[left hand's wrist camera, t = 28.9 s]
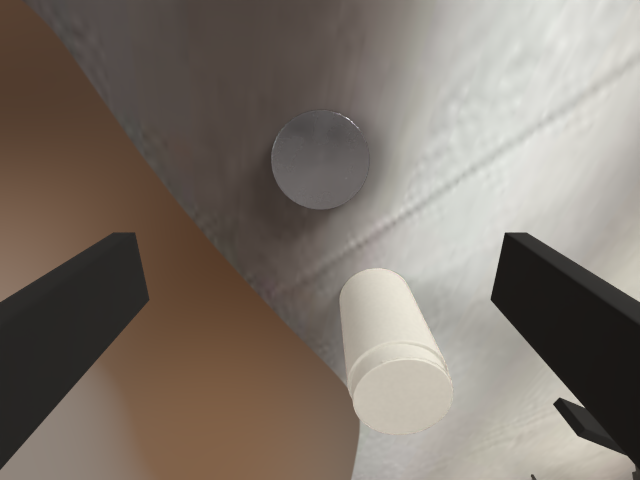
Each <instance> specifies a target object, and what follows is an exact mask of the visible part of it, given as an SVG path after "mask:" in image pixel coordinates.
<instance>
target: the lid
mask: <svg viewBox="0 0 640 480" xmlns="http://www.w3.org/2000/svg"><path fill="white" fill-rule="evenodd" d="M369 161H370V159H369V150H368V146H367V143H366V140H365V138H364V136H363V134H362V133H361V131H360V130H359V128H358V127H357V126H356V125H355V124H354V123H353V122H352V121H351V120H349V119H348V118H346V117H345V116H343V115H341V114H339V113H336V112H333V111H328V110H312V111H308V112H305V113H302V114H300V115H298V116H296V117H295V118H293V119H292V120H290V121H289V122H288V123H287V124H286V125H285V126H284V127H283V128H282V130H281V131H280V132H279V134H278V136H277V138H276V140H275V143H274V145H273V150H272V157H271V162H272V170H273V174H274V177H275V180H276V182H277V184H278V186H279V187H280V189H281V190H282V191H283V193H284V194H285V195H286V196H287V197H288V198H290V199H291V200H292V201H294V202H295V203H297V204H299V205H301V206H303V207H306V208H310V209H317V210H324V209H331V208H335V207H337V206H340V205H342V204H344V203H346V202H347V201H349V200H350V199H351V198H352V197H354V196H355V195H356V194H357V192H358V191H359V190H360V189H361V187H362V185H363V184H364V182H365V180H366V177H367V174H368V170H369Z"/></svg>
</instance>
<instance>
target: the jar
mask: <svg viewBox="0 0 640 480" xmlns="http://www.w3.org/2000/svg"><path fill="white" fill-rule="evenodd" d="M339 303H340V313H341V323H342V334H343V344H344V354H345V364H346V374H347V384H348V390H349V393H350V396H351V398H352V399H353V406H354V409H355V412H356V414H357V416H358V417H359V418H360V420H361V421H362V422H363V423H364V424H366V425H367V426H368V427H370V428H372V429H374V430H376V431H378V432H381V433H385V434H391V435H406V434H412V433H416V432H420V431H423V430H425V429H427V428H429V427H431V426H433V425H434V424H436V423H437V422H438V421H440V420H441V419H442V418H443V417H444V416H445V414H446V413H447V412H448V410H449V408H450V406H451V403H452V400H453V384H452V381H451V377H450V376H449V372H448V367H447V365H446V362H445V360H444V358H443V356H442V354H441V352H440V350H439V348H438V346H437V344H436V342H435V340H434V338H433V336H432V334H431V332H430V330H429V328H428V325H427V323H426V321H425V319H424V317H423V315H422V313H421V311H420V309H419V307H418V305H417V303H416V301H415V299H414V297H413V295H412V293H411V291H410V289H409V287H408V285H407V283H406V282H405V280H404V279H403V278H402V277H401V276H400V275H398V274H397V273H395V272H393V271H390V270H387V269H381V268H373V269H367V270H364V271H361V272H359V273H357V274H355V275H354V276H352V277H351V278H350V279H349V280H348V281H347V282H346V283H345V285H344V286H343V288H342V290H341V293H340V298H339Z"/></svg>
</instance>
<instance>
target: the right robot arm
mask: <svg viewBox="0 0 640 480" xmlns="http://www.w3.org/2000/svg"><path fill="white" fill-rule="evenodd" d="M553 405H554V406H555V407H556V409H557V410H558V411H559V412H560V414H561V415H562V416H563V418H564V419H565V420H566V421H567V423H568V424H569V425H570V427H571V428H572V429H573V430H574V432H575V433H576V434H577V436H579V437H582V438H584V439H587V440H589V441H592V442H594V443H597V444H599V445H602V446H604V447H607V448H609V449H612V450H614V451H617V452H619V453H622V454H624V455H626V454H625V452H624V451H623V450H622V449H621V448H620V447H619V446H618V444H617V443H616V442H615V441H614V440H613V439H612V438H611V437H610V435H609V434H608V433H607V432H606V431H605V430H604V429H603V427H602V426H601V425H600V424H599V423H598V422H597V421H596V419H595V418H594V417H593V416H592V415H591V414H590V413H589V411H588V410H587V409H586V408H583V407H581V406H579V405H576V404H574V403H572V402H569V401H567V400H564V399H562V398H559V399H558V400H557V401H556V402H555V403H554V404H553ZM635 467H636V471H635V472H632V475H633V480H640V470H639V468H638V467H637V466H636V465H635Z"/></svg>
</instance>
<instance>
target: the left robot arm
mask: <svg viewBox="0 0 640 480" xmlns="http://www.w3.org/2000/svg"><path fill="white" fill-rule="evenodd" d="M148 301H149V296H148V291H147V286H146V282H145V277H144V272H143V268H142V263H141V258H140V254H139V249H138V244H137V240H136V235H135V233H112V234H110V235H109V236H107V237H106V238H104V239H102V240H101V241H99V242H97V243H96V244H94V245H92V246H91V247H89V248H88V249H86V250H84V251H83V252H81V253H79V254H78V255H76V256H75V257H73V258H71V259H70V260H68V261H67V262H65V263H63V264H62V265H60V266H58V267H57V268H55V269H54V270H52V271H50V272H49V273H47V274H46V275H44V276H42V277H41V278H39V279H37V280H36V281H34V282H32V283H31V284H29V285H28V286H26V287H24V288H23V289H21V290H19V291H18V292H16V293H15V294H13V295H11V296H10V297H8V298H6V299H5V300H3V301H2V302H0V470H1V468H2V467H3V466H4V465H5V464H6V463H7V462H8V460H9V459H10V458H11V457H12V456H13V455H14V454H15V452H16V451H17V450H18V449H19V448H20V447H21V446H22V444H23V443H24V442H25V441H26V440H27V439H28V438H29V437H30V435H31V434H32V433H33V432H34V431H35V430H36V429H37V427H38V426H39V425H40V424H41V423H42V422H43V421H44V419H45V418H46V417H47V416H48V415H49V414H50V413H51V411H52V410H53V409H54V408H55V407H56V406H57V405H58V403H59V402H60V401H61V400H62V399H63V398H64V397H65V395H66V394H67V393H68V392H69V391H70V390H71V389H72V387H73V386H74V385H75V384H76V383H77V382H78V381H79V379H80V378H81V377H82V376H83V375H84V374H85V373H86V372H87V370H88V369H89V368H90V367H91V366H92V365H93V364H94V362H95V361H96V360H97V359H98V358H99V357H100V356H101V354H102V353H103V352H104V351H105V350H106V349H107V348H108V346H109V345H110V344H111V343H112V342H113V341H114V340H115V338H116V337H117V336H118V335H119V334H120V333H121V332H122V330H123V329H124V328H125V327H126V326H127V325H128V324H129V322H130V321H131V320H132V319H133V318H134V317H135V316H136V315H137V313H138V312H139V311H140V310H141V309H142V308H143V307H144V305H145V304H146V303H147V302H148ZM491 301H492V302H493V303H494V304H495V305H496V307H497V308H498V309H499V310H500V311H501V312H502V313H503V315H504V316H505V317H506V318H507V319H508V320H509V321H510V322H511V324H512V325H513V326H514V327H515V328H516V329H517V330H518V332H519V333H520V334H521V335H522V336H523V337H524V338H525V340H526V341H527V342H528V343H529V344H530V345H531V346H532V348H533V349H534V350H535V351H536V352H537V353H538V354H539V356H540V357H541V358H542V359H543V360H544V361H545V362H546V364H547V365H548V366H549V367H550V368H551V369H552V370H553V372H554V373H555V374H556V375H557V376H558V377H559V378H560V379H561V381H562V382H563V383H564V384H565V385H566V386H567V387H568V389H569V390H570V391H571V392H572V393H573V394H574V395H575V397H576V398H577V399H578V400H579V401H580V402H581V403H582V405H583V406H584V407H585V408H586V409H587V410H588V411H589V413H590V414H591V415H592V416H593V417H594V418H595V419H596V421H597V422H598V423H599V424H600V425H601V426H602V427H603V429H604V430H605V431H606V432H607V433H608V434H609V435H610V437H611V438H612V439H613V440H614V441H615V442H616V443H617V444H618V446H619V447H620V448H621V449H622V450H623V451H624V452H625V454H626V455H627V456H628V457H629V458H630V459H631V460H632V462H633V463H634V464H635V465H636V466H637V467H638V468H639V470H640V302H638V301H637V300H635V299H634V298H632V297H630V296H629V295H627V294H625V293H624V292H622V291H621V290H619V289H617V288H616V287H614V286H612V285H611V284H609V283H608V282H606V281H604V280H603V279H601V278H599V277H598V276H596V275H595V274H593V273H591V272H590V271H588V270H586V269H585V268H583V267H582V266H580V265H578V264H577V263H575V262H573V261H572V260H570V259H569V258H567V257H565V256H564V255H562V254H561V253H559V252H557V251H556V250H554V249H552V248H551V247H549V246H548V245H546V244H544V243H543V242H541V241H539V240H538V239H536V238H535V237H533V236H531V235H530V234H528V233H505V235H504V240H503V244H502V249H501V254H500V258H499V263H498V268H497V272H496V277H495V282H494V286H493V291H492V296H491Z"/></svg>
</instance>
